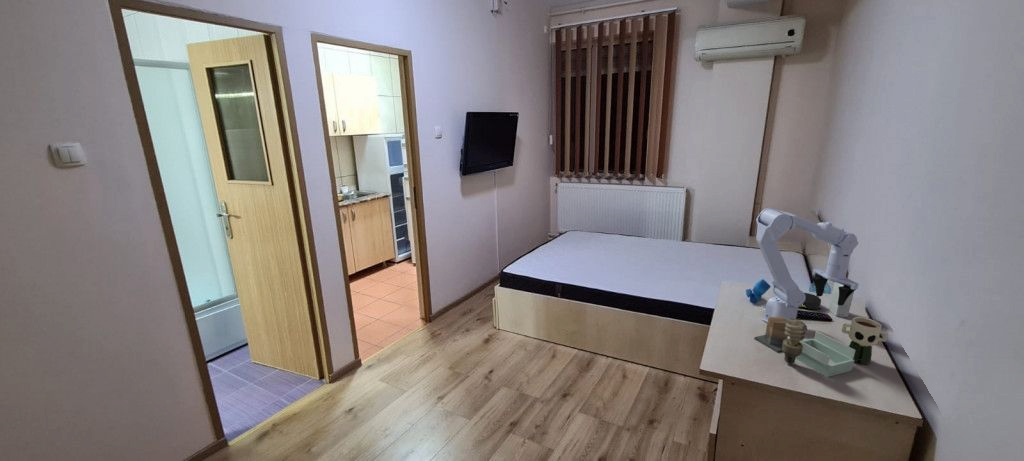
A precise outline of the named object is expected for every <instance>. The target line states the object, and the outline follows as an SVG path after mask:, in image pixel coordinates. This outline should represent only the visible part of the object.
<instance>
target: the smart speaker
mask: <svg viewBox="0 0 1024 461" xmlns="http://www.w3.org/2000/svg"><path fill="white" fill-rule="evenodd" d="M804 294H805V296H806V298H805V301H804V303H803V305H805V306H806V307H807V308H808V309H807V310H810V309H813V311H814V310H818V309H820V308H821V304H822V299H821V298H820V296H819V297H818V296H816V295H815V294H814V293H813V294H812V293H808V292H804Z"/></svg>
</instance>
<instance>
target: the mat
mask: <svg viewBox="0 0 1024 461" xmlns="http://www.w3.org/2000/svg"><path fill="white" fill-rule="evenodd" d="M753 340H756V341H757V342H759V343H761V344H763V345H764V346H765V347H767V348H769V349H771V350H773V351H774V352H776V353H781V352H783V350H782V345H777V344H769V343H768V341H767V340H766V339H765V334H763V335H758V336H757V335H756V336H755V337H754V339H753Z"/></svg>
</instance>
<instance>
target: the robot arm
mask: <svg viewBox="0 0 1024 461" xmlns="http://www.w3.org/2000/svg"><path fill="white" fill-rule="evenodd" d="M755 221H756V224H757V227H756V234H755V235H756V236H755V240H756V243H757V245H758V246H759V249H760V252H761V253H762V257H763V258H764V261H765V262H766V265H767V267H768V270H769V273H770V274H771V276H772V279H773V280H772V281H771V284H772V293H773V294H774V295H775V296H773V297H770V298H768V300H767V302H766V304H765V310H764V314H763V315H764V316H763V317H762V319H761V320H762V321H763V322H765V323H767V322H768V317H784V318H786V319H787V321H788V322H789V319H791V318H792V319H797V317H798V310H799V308H801V307H800V305H802V304H803V303H804V301H805V298H806V296H805V294H804V293H805V292H804V291H803V290H801V289H800V288H799V286H798V284H797V283H796V282H795V281H794V280H793V278H792V275H791V274H790V271H789V269H788V267H787V264H786V262H785V260H784V257H783V255H782V253H781V251H780V248H779V246H778V244H777V241H779V239H780V238H782V237H783V236H784V235H785V234H786V233H787V231H788V230H789V229H790V230H793V229H795V227H796V228H799V229H801V230H805V231H807V232H810V233H811V234H812V236H813V238H815V239H817V240H820V241H823V242H825V243H828V244H830V250H829V251H830V252H829V255H828V260H827V264H826V268H825V270H822V269H819V268H814V269H812V275H813V276H812V277H811V279H812V281H813V284H814V287H815V292H816V293H815V294H816V295H815V296H817V297H819V298H820V297H822V296H824V295H823V294H824V292H825V288H826V285H827V282H828V281H832V282H834V283H835V282H836V283H839V284H842V285H844V286H841V287H839V298H838V305H839V306H841V305H844V303H845V301H846V300H847V298H848V297H849V296H850V295H851V294H852V293H853V292H854V293H855V291H856V290H858V288H859V283H858V282H856V281H854V280H851V279H850V278H848V277H846V276H847V271H848V267H849V263H850V259H851V255H852V254H853V252H854V250H855V249H856V248H857V246H858V245H859V241H858V237H857V236H856V235H855V234H854V233H851V232H849V231H847V230H845V229H844V228H842V227H836V226H834V225H833V223H831V222H830V221H829V222H828V221H825V222H818V223H815V222H813V221H811V220H808V219H806V218H803V217H801V216H800V215H799V216H798V215H795V214H793V213H790V212H787V211H784V210H783V211H782V210H779V209H778V210H776V209H774V208H772V207H767V208H764V209H763V210H761V212H760V213H759V214H758V216H757V217H756V219H755Z"/></svg>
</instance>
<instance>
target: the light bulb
mask: <svg viewBox="0 0 1024 461" xmlns="http://www.w3.org/2000/svg"><path fill="white" fill-rule="evenodd" d="M785 330H786V331H785V332H784V333H785V335H787V336H788V338H787V339H785V340H783V343H782V350H783V351H782V352H783V354H784V357H783V358H784V361H785V363H787V364H788V365H793V364H795V362H796V357H797V356H799V355H800V354H801V352H802V349H803V345H802V344H801V343H800V342H799V341H803V340H805V337H806V336H805V335H806V334H807V330H808V326H807V324H806V323H805V322H804V321H801V320H799V319H797V318H796V319H792V318H791V319H789V322H787V323H786V327H785Z"/></svg>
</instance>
